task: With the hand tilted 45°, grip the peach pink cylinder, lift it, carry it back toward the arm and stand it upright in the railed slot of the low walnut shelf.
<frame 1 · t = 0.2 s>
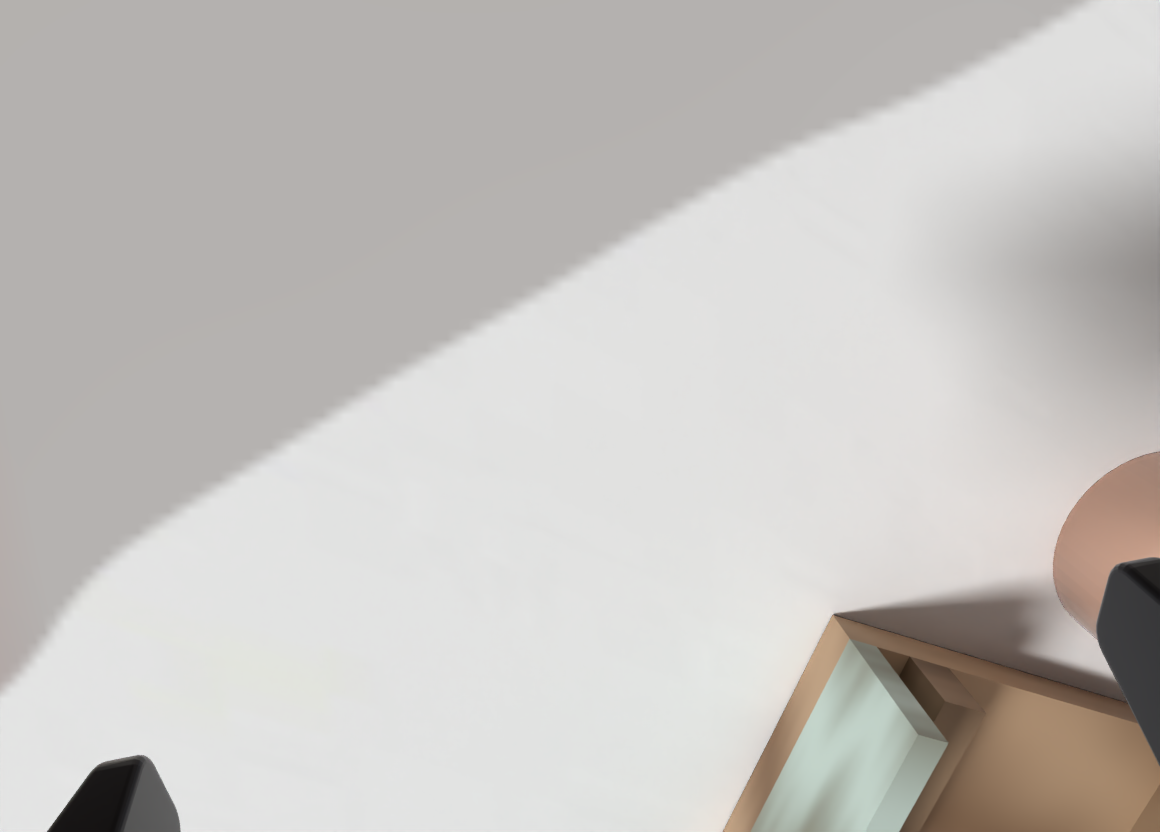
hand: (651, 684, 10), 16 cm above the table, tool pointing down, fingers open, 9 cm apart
peach pink cylinder: (1150, 547, 29), on the table
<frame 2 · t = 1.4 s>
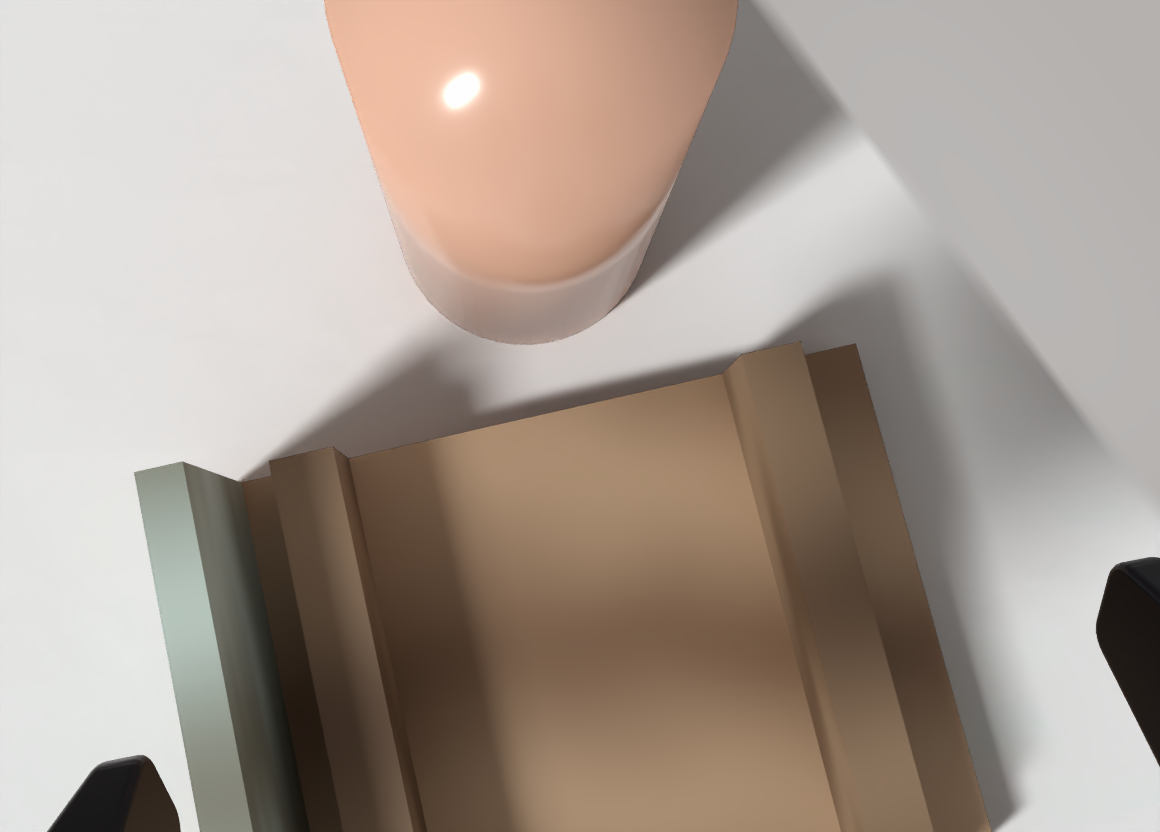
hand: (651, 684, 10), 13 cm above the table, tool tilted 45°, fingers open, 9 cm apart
peach pink cylinder: (524, 223, 24), on the table
walnut shelf: (595, 672, 23), on the table
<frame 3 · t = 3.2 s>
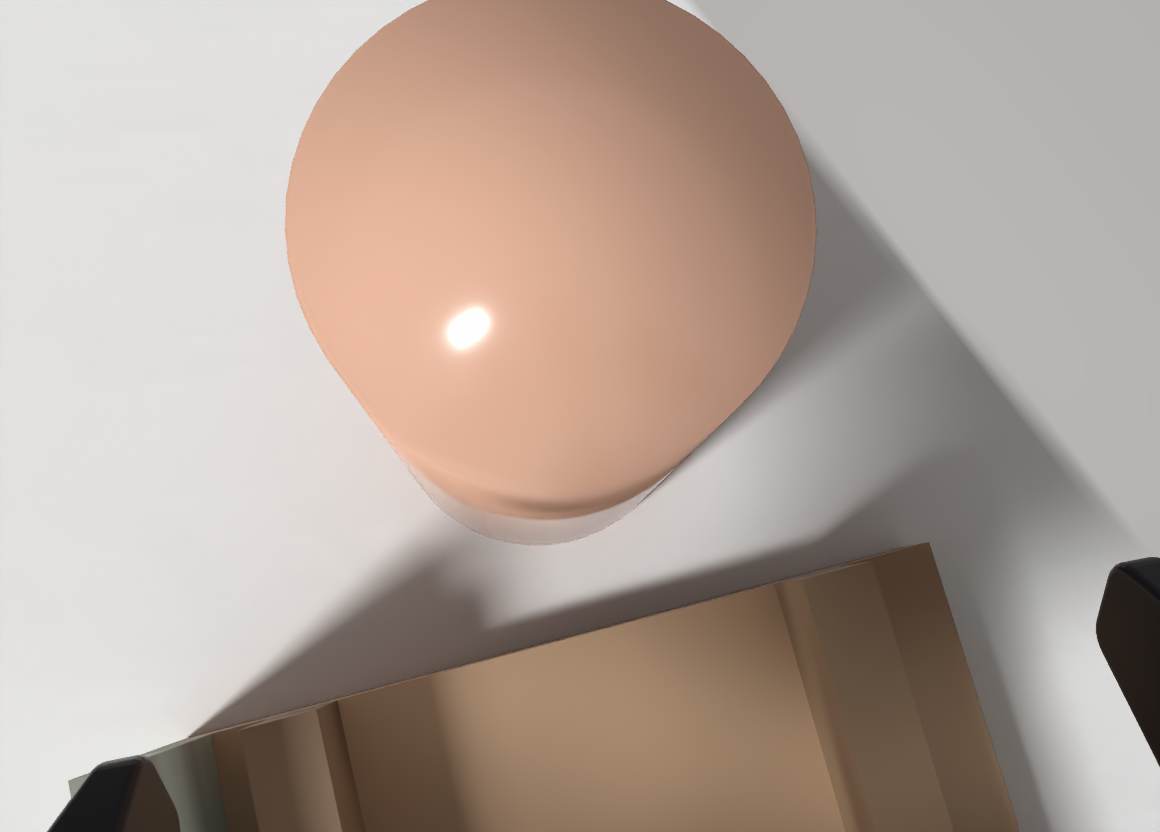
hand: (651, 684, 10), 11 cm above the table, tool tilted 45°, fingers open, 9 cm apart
peach pink cylinder: (537, 401, 21), on the table
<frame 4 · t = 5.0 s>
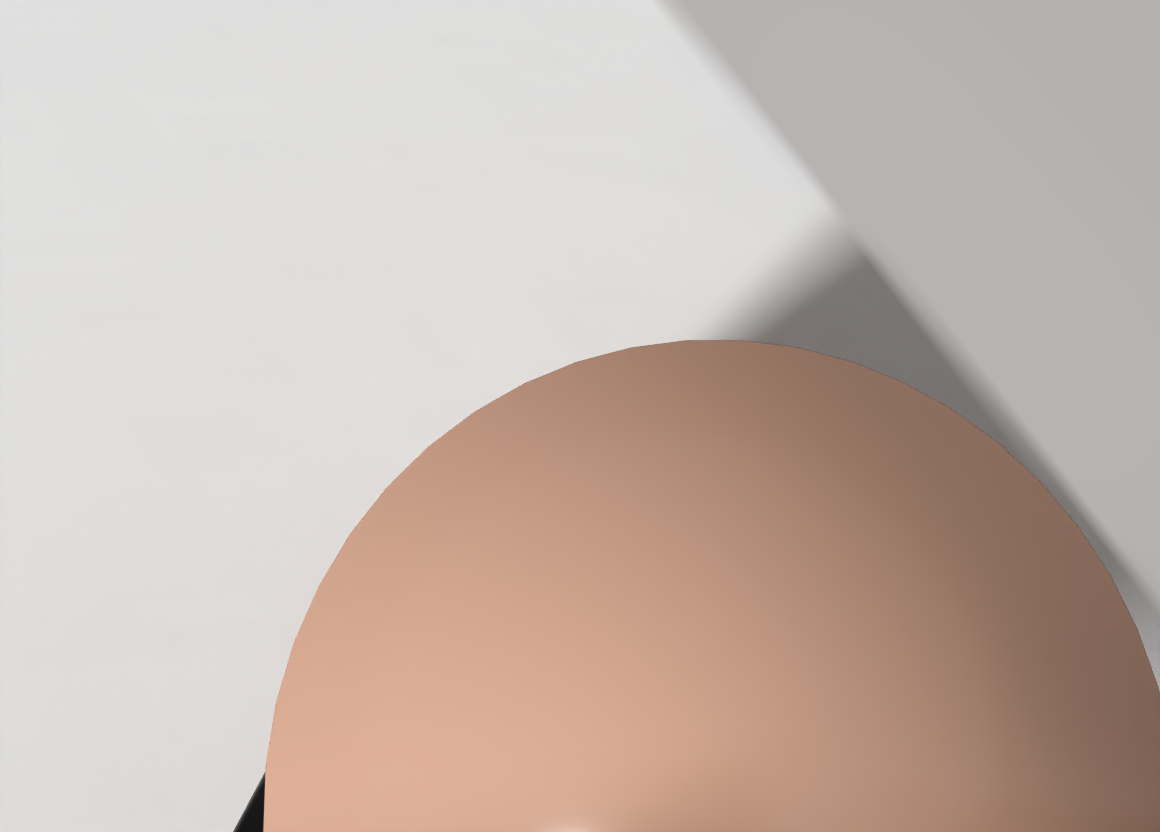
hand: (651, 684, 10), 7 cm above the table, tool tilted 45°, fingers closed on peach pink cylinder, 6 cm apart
peach pink cylinder: (602, 683, 16), on the table, touching gripper
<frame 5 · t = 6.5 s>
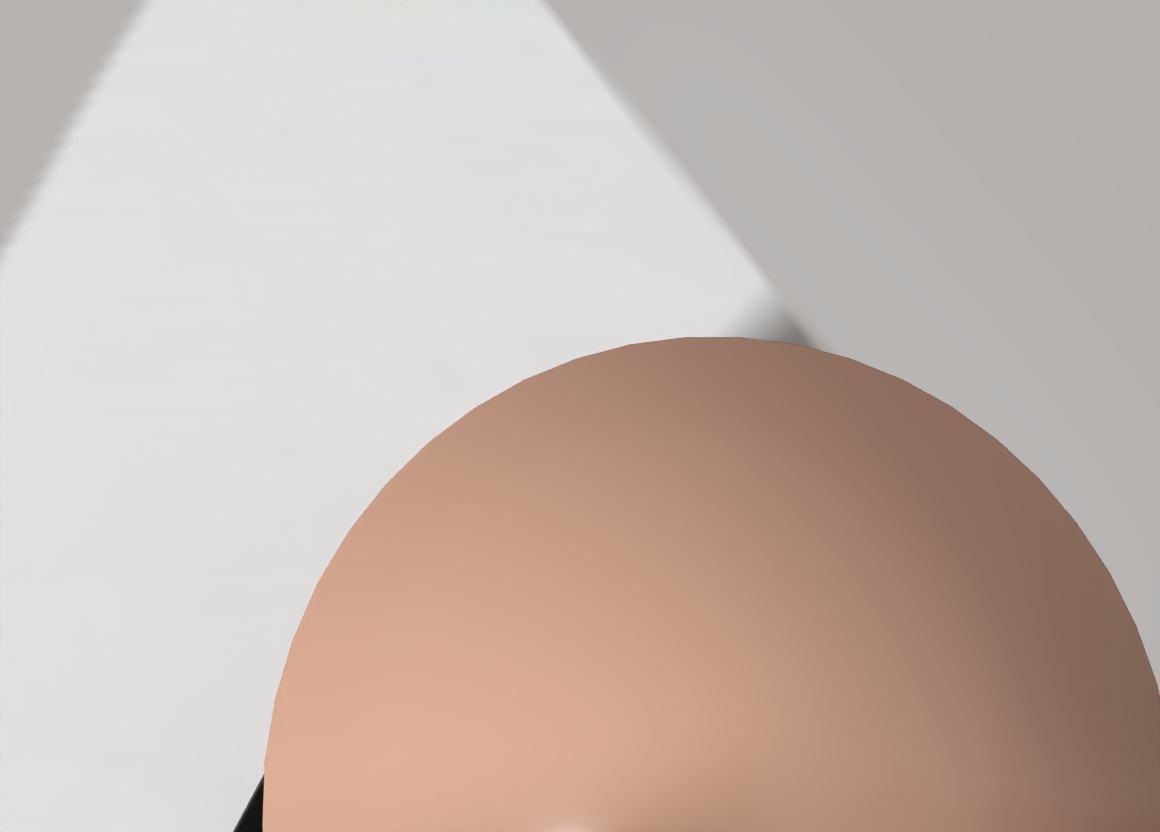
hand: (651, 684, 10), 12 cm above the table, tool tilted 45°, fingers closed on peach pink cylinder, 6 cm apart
peach pink cylinder: (602, 681, 16), point 5 cm above the table, touching gripper
when the fingers open (9 cm above the table, at t = 8.4 s): peach pink cylinder drops 1 cm, resting on walnut shelf.
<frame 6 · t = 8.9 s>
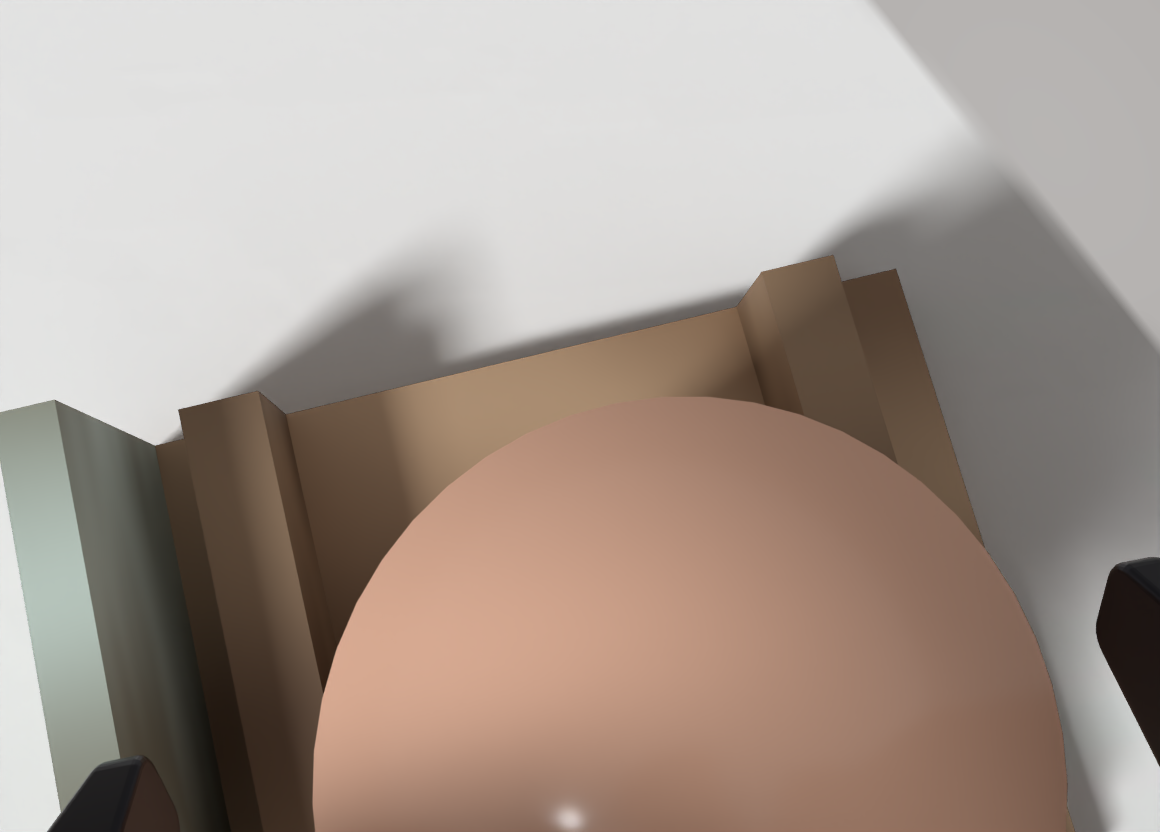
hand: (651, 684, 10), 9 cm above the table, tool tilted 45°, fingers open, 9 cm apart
peach pink cylinder: (597, 681, 18), point 1 cm above the table, touching walnut shelf
walnut shelf: (591, 671, 19), on the table
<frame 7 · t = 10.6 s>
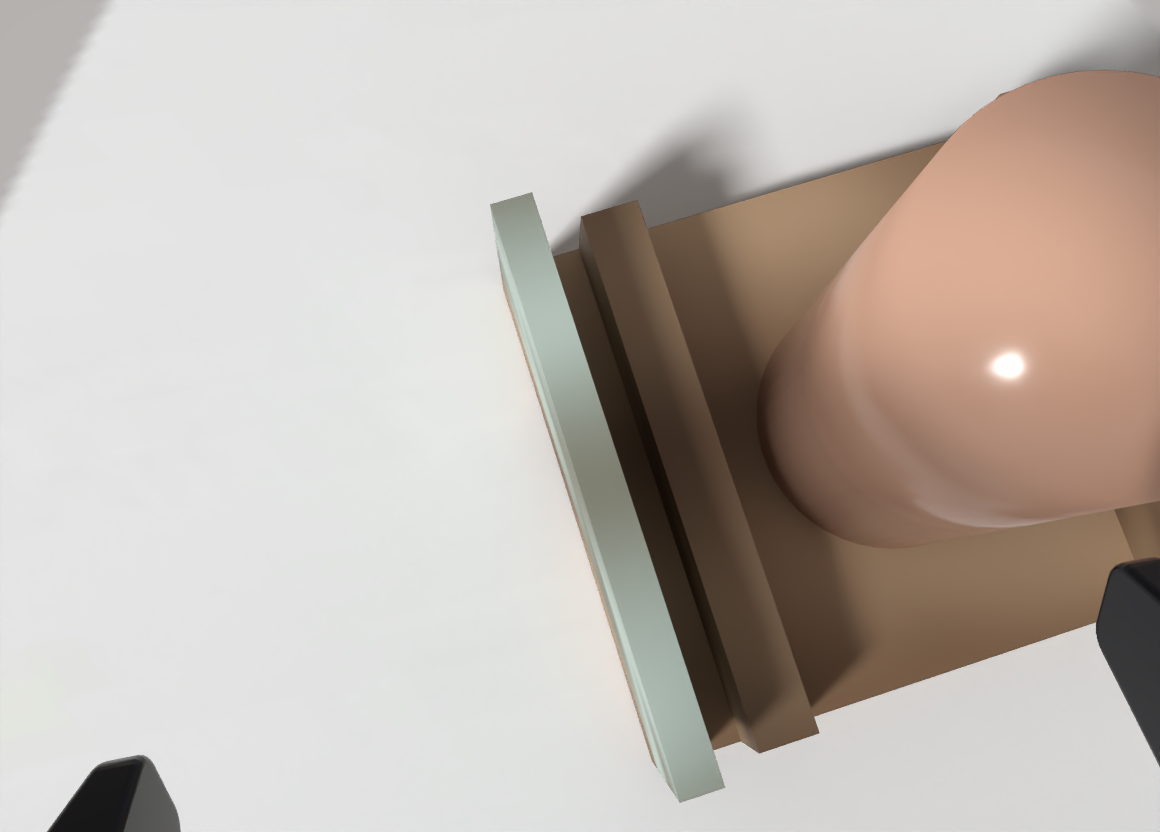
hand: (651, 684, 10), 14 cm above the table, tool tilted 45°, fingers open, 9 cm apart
peach pink cylinder: (885, 418, 23), point 1 cm above the table, touching walnut shelf
walnut shelf: (868, 423, 25), on the table
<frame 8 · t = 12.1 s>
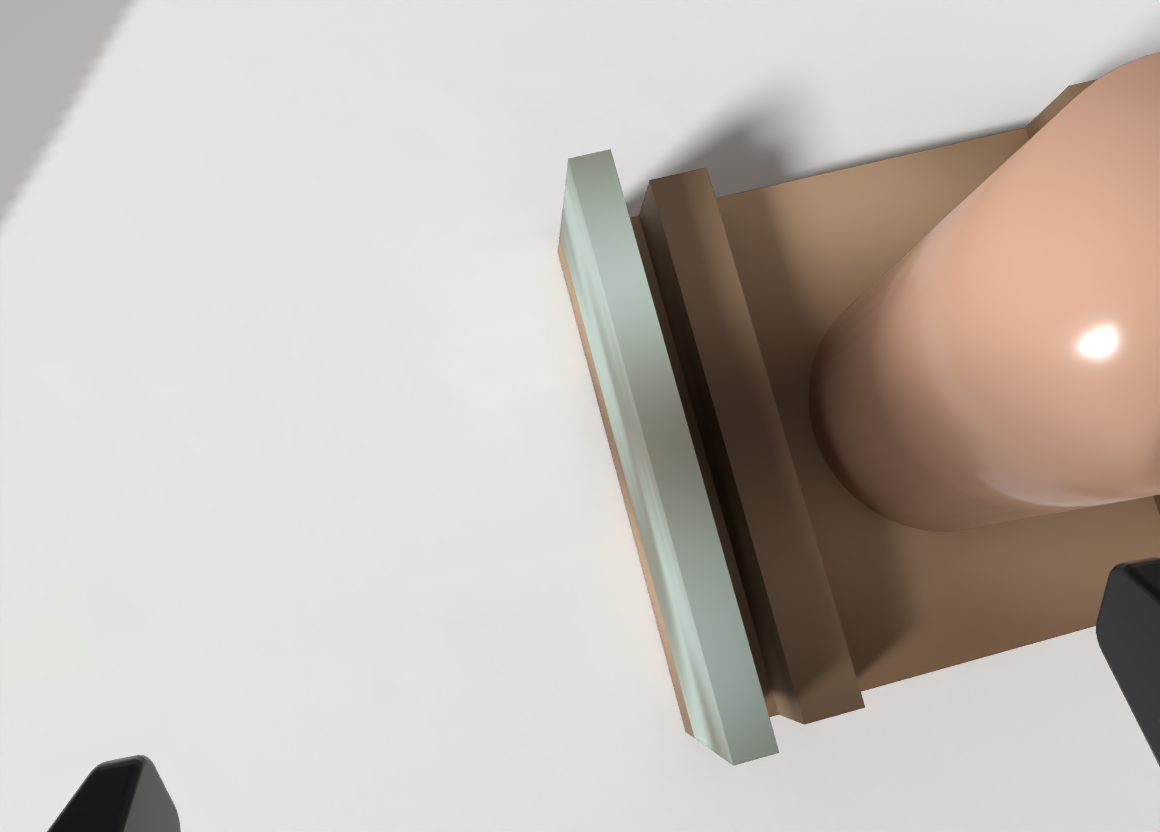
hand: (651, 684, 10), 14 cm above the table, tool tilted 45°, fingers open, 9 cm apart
peach pink cylinder: (935, 402, 23), point 1 cm above the table, touching walnut shelf
walnut shelf: (915, 408, 25), on the table
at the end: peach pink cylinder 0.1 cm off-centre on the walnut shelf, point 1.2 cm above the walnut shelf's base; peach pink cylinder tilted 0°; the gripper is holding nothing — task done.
